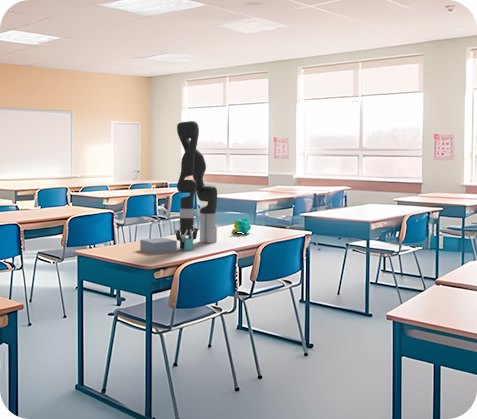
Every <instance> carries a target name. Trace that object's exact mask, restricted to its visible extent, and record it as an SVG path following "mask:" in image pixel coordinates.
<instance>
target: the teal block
mask: <svg viewBox="0 0 477 419" xmlns="http://www.w3.org/2000/svg"><path fill="white" fill-rule="evenodd" d="M179 250H181V251H193V250H194V240H193V239H192V238H189V237H185V239H184V249H182V248H181V247H180V246H179Z"/></svg>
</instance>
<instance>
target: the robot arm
mask: <svg viewBox="0 0 477 419" xmlns="http://www.w3.org/2000/svg"><path fill="white" fill-rule="evenodd" d="M199 128H200V127H199V124H198V123H197V121H195V120H191V121H189V120H188V121H181V122H178V123H177V125H176V132H177V135H178V138H179V140H180V143H181V145H182V147H183V150H184V153H183V155H182V157H181V163H180V173H179V174H180V175H179V178H178V181H177V185H176V189H177V191H178V192H179V193H182V194H183V193H185V194H187V193H189V195H188V196H187V195H186V196H184V197H180V200H179V201H180V202H179V203H180V205H179V229H175V230H174V232H175V237H176V241H177V242H179V248H180V247H181V248H182V249H184V239H185V238H192V239H193V241H194V240H197V236H198V230H199V243H202V244H210V243H211V244H212V243H216V242H217V240H218V239H217V236H218V232H217V231H218V226H217V225H216V224H217V223H216V221H217V220H216V219H217V218H216V217H217V216H216V214H217V212H216V210H217V207H218V206H217V205H218V204H217V203H218V190H217V187H215V186H212V185H205V184H204V175H205V173H206V170H207V165H206V160H205V158H204V155H203V153H201V151H199V149H197V145H198V140H199V132H200V129H199ZM191 176H192V178H193V179H186V178H187V177H191ZM195 194H196V196H197V198H198V200H199V201H201V202H207V203H206V205H205V206H203V207H201V208H200V209H199V228H196V227H194V224H195V222H194V221H195V218H194V217H195V216H194V215H195V213H194V212H195V210H194V201H195V200H194V198H195Z"/></svg>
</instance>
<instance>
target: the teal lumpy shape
mask: <svg viewBox="0 0 477 419" xmlns="http://www.w3.org/2000/svg"><path fill="white" fill-rule="evenodd" d="M233 223H234V224H233V228H232V230H231V233H232V232H242V233H247V232H248V233H249V231H250V230H251V228H252V227H251V222H250V221H249V219H248V217H243V219H234V221H233ZM248 233H247V234H248Z"/></svg>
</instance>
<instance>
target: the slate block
mask: <svg viewBox="0 0 477 419" xmlns="http://www.w3.org/2000/svg"><path fill="white" fill-rule="evenodd" d="M139 242H140V244H139V245H140V246H139V249H140V251H142V252H146V253H149V254H151V255H152V254H153V255H158V254H166V253H168V254H169V253H174V252H175V253H176V252H178V251H177V250H178V248H177V247H178V243H177V242H178V240H174V239H171V238H166V237H157V238H143V239H140V240H139Z"/></svg>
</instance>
